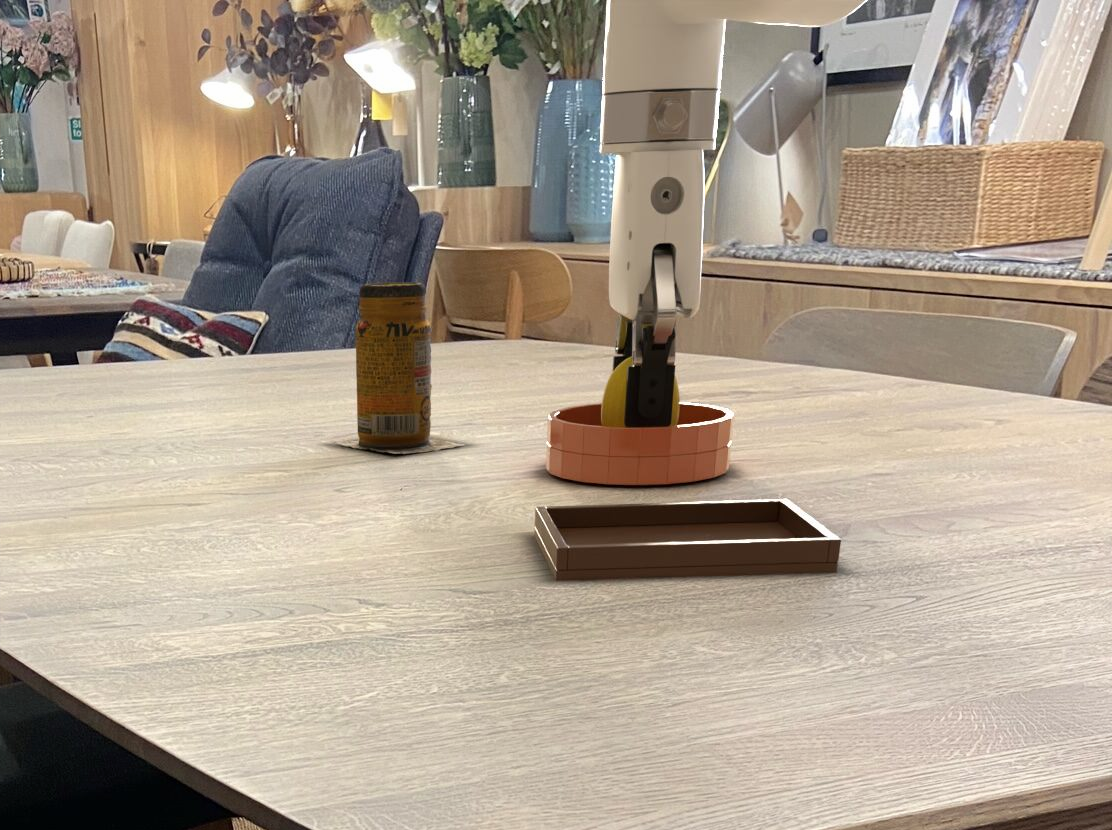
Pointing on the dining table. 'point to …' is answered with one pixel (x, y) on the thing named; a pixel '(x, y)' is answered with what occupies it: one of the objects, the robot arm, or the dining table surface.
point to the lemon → (617, 394)
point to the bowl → (639, 447)
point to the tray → (683, 540)
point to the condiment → (394, 370)
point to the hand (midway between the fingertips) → (639, 418)
